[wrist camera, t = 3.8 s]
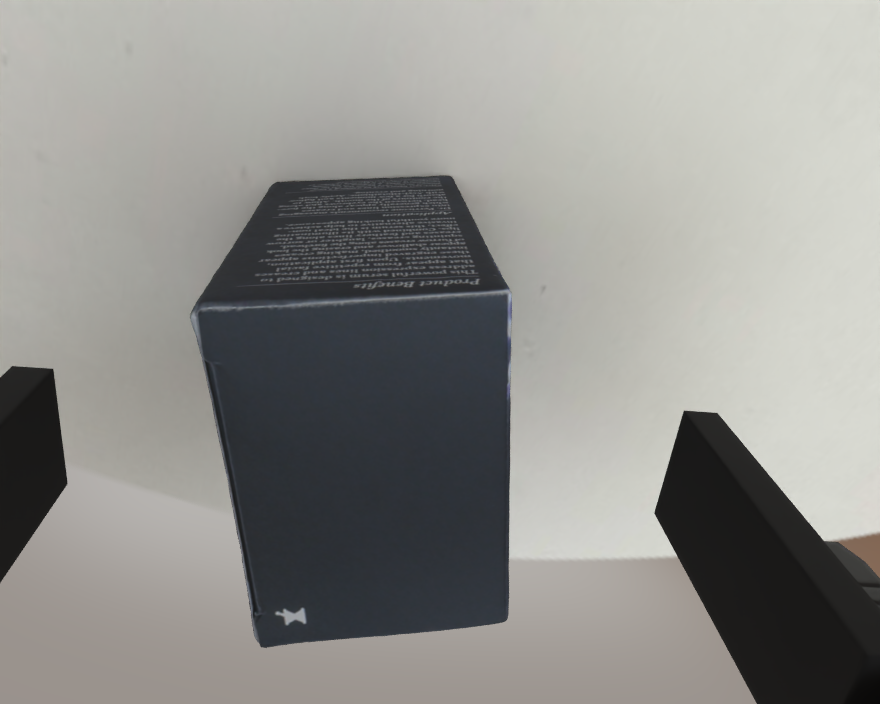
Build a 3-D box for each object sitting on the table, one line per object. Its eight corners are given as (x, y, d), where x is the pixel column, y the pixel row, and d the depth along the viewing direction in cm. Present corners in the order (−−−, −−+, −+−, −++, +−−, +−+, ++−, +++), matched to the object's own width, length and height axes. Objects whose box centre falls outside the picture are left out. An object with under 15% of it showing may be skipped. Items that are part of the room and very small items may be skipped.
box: (460, 397, 25) (512, 632, 16) (296, 407, 25) (246, 654, 15) (456, 168, 22) (519, 289, 12) (267, 177, 21) (178, 308, 12)
